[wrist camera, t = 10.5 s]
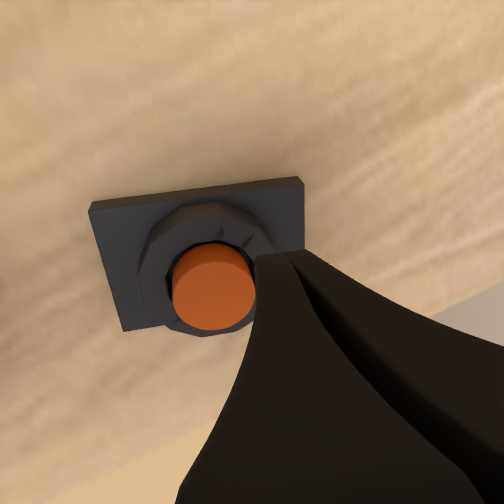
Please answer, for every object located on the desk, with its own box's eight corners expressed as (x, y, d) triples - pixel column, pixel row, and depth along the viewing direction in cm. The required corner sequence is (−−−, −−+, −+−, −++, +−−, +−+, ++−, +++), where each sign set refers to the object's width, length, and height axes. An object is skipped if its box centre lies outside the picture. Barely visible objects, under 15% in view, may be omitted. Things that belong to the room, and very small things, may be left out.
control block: (125, 318, 22) (119, 356, 19) (91, 201, 18) (78, 228, 16) (298, 290, 23) (315, 322, 21) (297, 175, 20) (317, 196, 17)
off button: (179, 313, 19) (179, 336, 18) (166, 248, 17) (165, 269, 16) (251, 301, 20) (258, 323, 18) (246, 237, 18) (252, 256, 16)
